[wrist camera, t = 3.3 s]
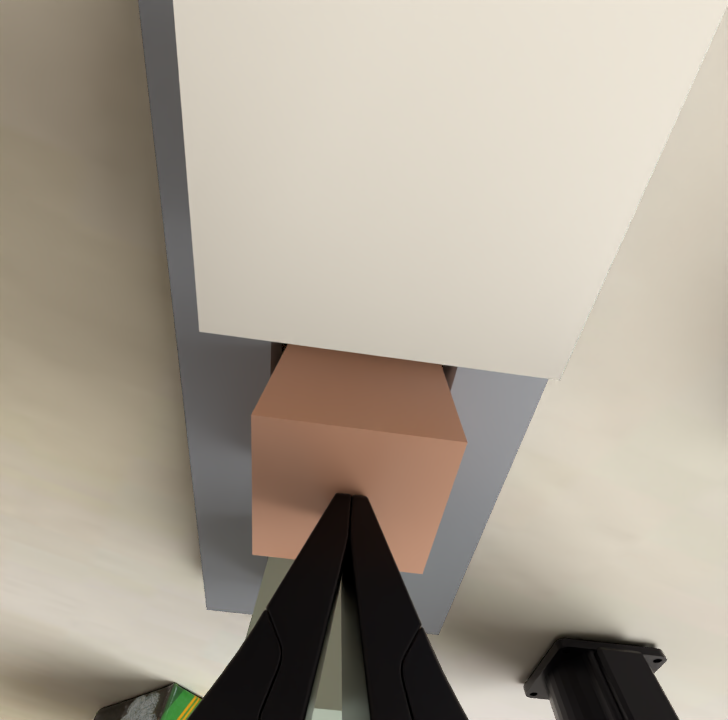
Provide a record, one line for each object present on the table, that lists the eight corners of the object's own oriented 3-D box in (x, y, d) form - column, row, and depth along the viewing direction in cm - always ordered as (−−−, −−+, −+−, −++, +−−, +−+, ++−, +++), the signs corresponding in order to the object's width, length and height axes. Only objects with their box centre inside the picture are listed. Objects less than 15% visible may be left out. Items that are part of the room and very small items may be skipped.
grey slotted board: (434, 602, 20) (438, 634, 19) (218, 578, 20) (206, 609, 18) (684, -41, 8) (746, -83, 7) (161, -135, 8) (115, -200, 7)
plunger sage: (379, 620, 17) (380, 780, 12) (271, 608, 17) (233, 766, 12) (398, 551, 15) (408, 717, 10) (274, 536, 14) (228, 699, 10)
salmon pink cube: (408, 456, 15) (422, 573, 11) (289, 441, 15) (252, 554, 11) (436, 349, 13) (467, 442, 8) (295, 329, 13) (250, 414, 8)
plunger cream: (473, 283, 10) (560, 380, 5) (283, 256, 9) (199, 331, 5) (543, 37, 7) (809, -177, 3) (292, -5, 7) (149, -306, 3)
